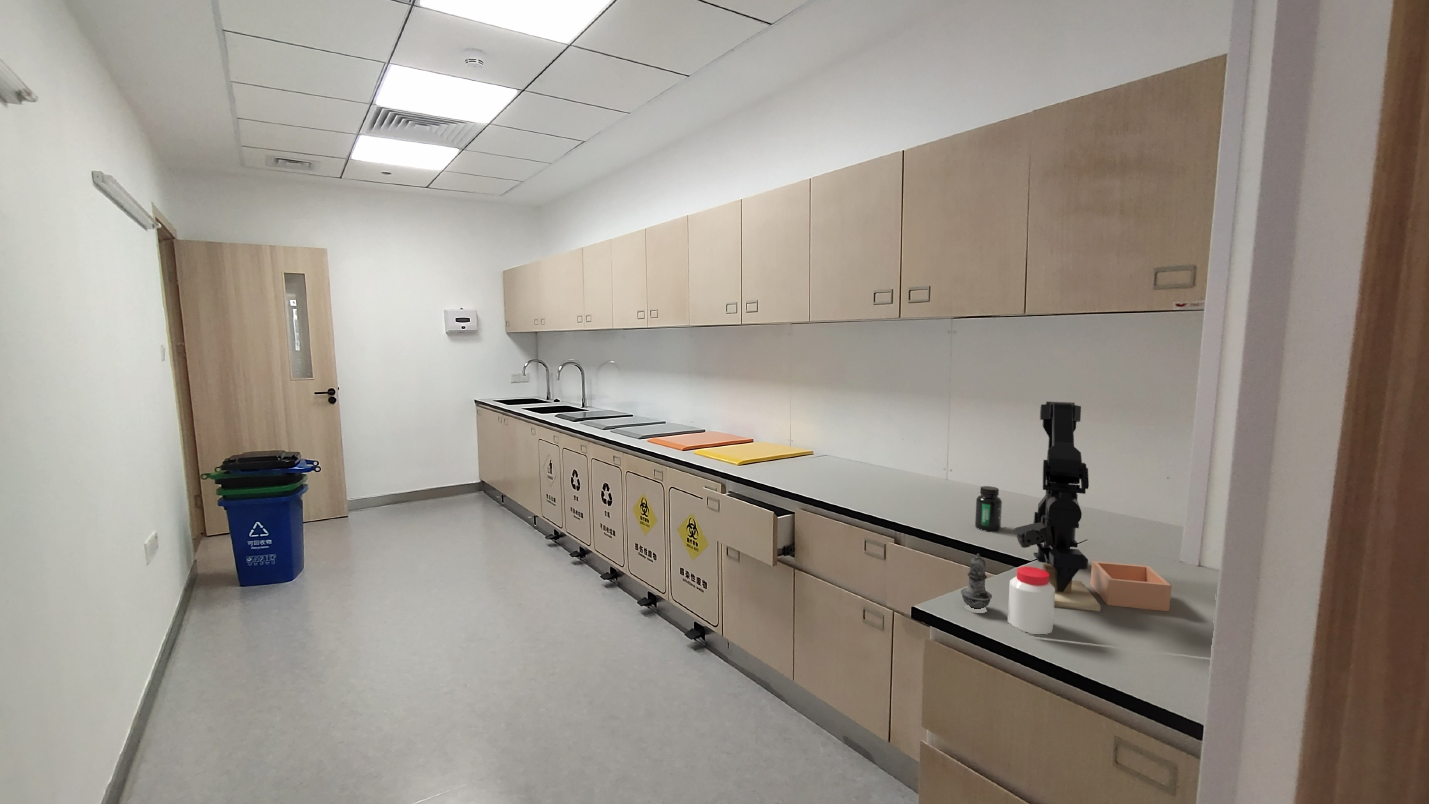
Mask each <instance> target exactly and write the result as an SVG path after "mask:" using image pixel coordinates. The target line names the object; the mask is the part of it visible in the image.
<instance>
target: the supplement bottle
mask: <svg viewBox="0 0 1429 804" xmlns="http://www.w3.org/2000/svg"><path fill="white" fill-rule="evenodd" d="M999 496H1000V491H999V488H998V487H996V486H990V485H984V486H980V492H979V495H978V496H977V497H976V499H975V517H974V518H975V519H974V520H975V521H974V525H975V526H974V527H975V528H976V529H978V528H979V529H978V530H980V529H982V530H981V531H983V530H986V531H985V532H991V531H994V532H999V531H1000V530H1001V525H1002V509H1003V501H1002V499H1001V498H1000V497H999ZM998 530H999V531H998Z"/></svg>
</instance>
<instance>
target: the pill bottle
mask: <svg viewBox="0 0 1429 804" xmlns="http://www.w3.org/2000/svg"><path fill="white" fill-rule="evenodd" d="M1042 569H1043V568H1042ZM1042 569H1041V568H1037V567H1034V566H1033V567H1032V566H1020V567H1017V568H1016V575H1015V576H1013V577H1012V578H1011V579H1010V580H1009V584H1008V585H1009V587H1008V588H1009V589H1008V602H1007V603H1008V605H1007V607H1008V608H1007V623H1008V622H1009V623H1011V624H1012V625H1013V626H1015V627H1018V628H1019V629H1021V630H1024V631H1027V632H1032V633H1038V634H1046V633H1050V632H1051V633H1053V631H1052V630H1054V619H1055V618H1054V617H1055V613H1054V612H1055V608H1054V602H1055V587H1054V586H1053V585H1052V584H1051V583H1050V582H1049V573H1048V572H1046V571H1044V570H1042ZM1051 633H1050V634H1051ZM1046 635H1047V634H1046Z"/></svg>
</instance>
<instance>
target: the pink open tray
mask: <svg viewBox="0 0 1429 804" xmlns="http://www.w3.org/2000/svg"><path fill="white" fill-rule="evenodd" d="M1090 571H1091V573H1090V586H1091V587H1092V589H1094V591H1095V592H1096V593H1097V595H1098V596H1099V597H1100V598H1101V599H1102V600H1103V601H1104V603H1105V604H1106V606H1115V607H1122V608H1123V607H1125V608H1133V609H1134V608H1135V609H1145V610H1154V611H1163V612H1170V605H1171V604H1170V603H1171V594H1172V592H1171V591H1172V585H1171V584H1170V583H1169V582H1168V581H1167V580H1166V579H1164V578H1163V577H1162V576H1161V575H1160V574H1158V573H1157V572H1156V571H1155V569H1153V568H1151V567H1150V566H1149V565H1148V566H1147V565H1140V564H1127V563H1118V562H1105V561H1095V560H1092V561H1091V569H1090Z"/></svg>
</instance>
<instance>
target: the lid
mask: <svg viewBox="0 0 1429 804" xmlns="http://www.w3.org/2000/svg"><path fill="white" fill-rule="evenodd" d="M1042 570H1044V571H1046V572H1048V573H1049V582H1050V583H1051V584H1052V585H1053V586H1054V587H1055V602H1054V606H1055V607H1064V608H1073V609H1083V610H1092V611H1100V609H1101V604H1100V603H1099V602H1098V601H1097V599H1096V598H1095V596H1093V594H1092V593H1091V592H1090V591H1089V589H1088V588H1087V587H1086V585H1085V584H1083V582H1082V581H1081V580H1073V579H1072V580H1071V581H1070V583H1069V584H1068V586H1067V587H1066V589H1065V590H1064V591H1063V592H1059V591H1057V586H1056V578H1055V569H1054V567H1053V566H1052V565H1051V564H1047V563H1044V562H1042Z"/></svg>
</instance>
